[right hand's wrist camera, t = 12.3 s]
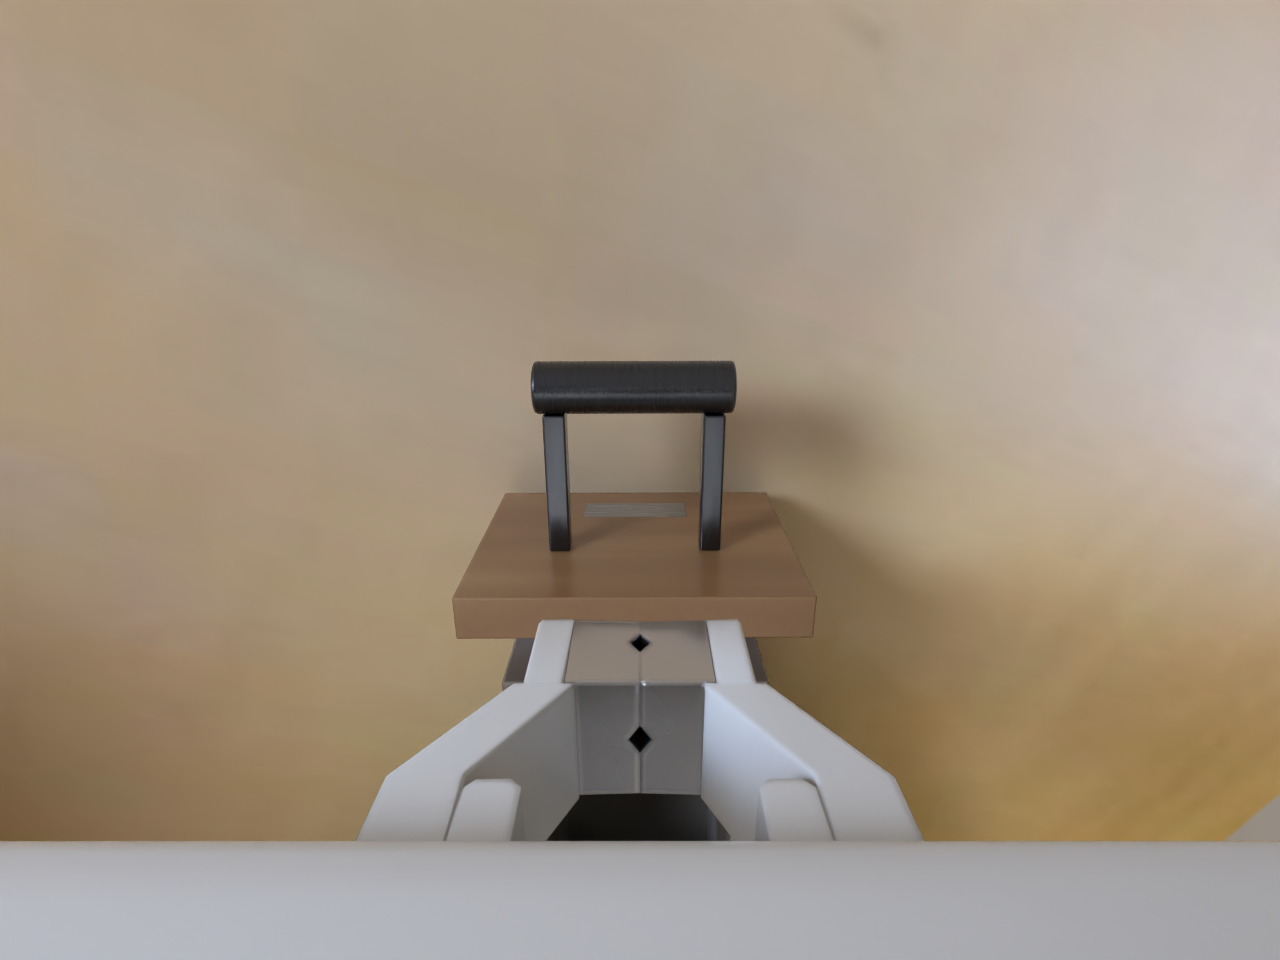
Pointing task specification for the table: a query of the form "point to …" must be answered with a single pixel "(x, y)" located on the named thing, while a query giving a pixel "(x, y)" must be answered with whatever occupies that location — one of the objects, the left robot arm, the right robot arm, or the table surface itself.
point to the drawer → (634, 559)
